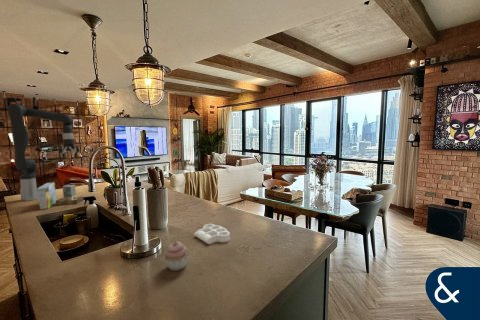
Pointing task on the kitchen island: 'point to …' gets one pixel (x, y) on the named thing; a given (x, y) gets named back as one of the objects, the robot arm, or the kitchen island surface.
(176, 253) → the cupcake
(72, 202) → the dock
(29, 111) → the robot arm
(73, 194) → the pallet crate
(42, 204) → the snack box
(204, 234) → the white paint palette
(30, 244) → the kitchen island surface
